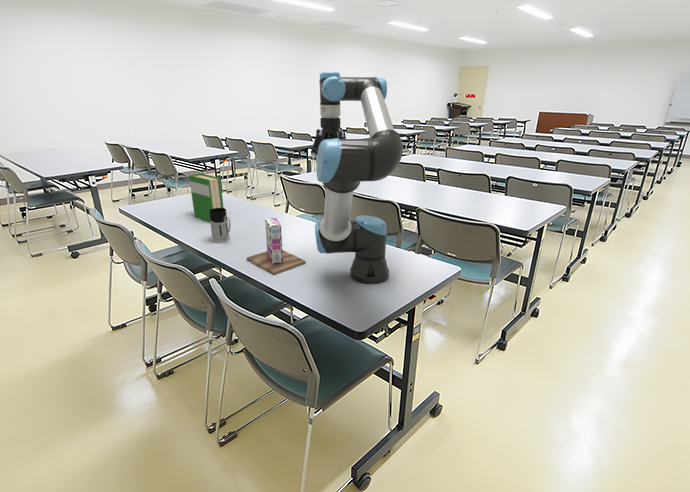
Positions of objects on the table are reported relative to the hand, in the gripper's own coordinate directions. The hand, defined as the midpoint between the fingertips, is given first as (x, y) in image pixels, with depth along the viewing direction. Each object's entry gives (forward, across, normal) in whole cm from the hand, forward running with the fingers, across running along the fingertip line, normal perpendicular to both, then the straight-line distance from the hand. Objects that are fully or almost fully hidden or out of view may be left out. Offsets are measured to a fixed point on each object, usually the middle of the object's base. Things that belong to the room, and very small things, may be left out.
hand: (330, 173), depth 153 cm
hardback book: (+37, -88, -12) cm, 96 cm away
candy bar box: (+36, -14, -19) cm, 43 cm away
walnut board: (+37, -14, -19) cm, 44 cm away
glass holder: (+37, -51, -23) cm, 67 cm away
